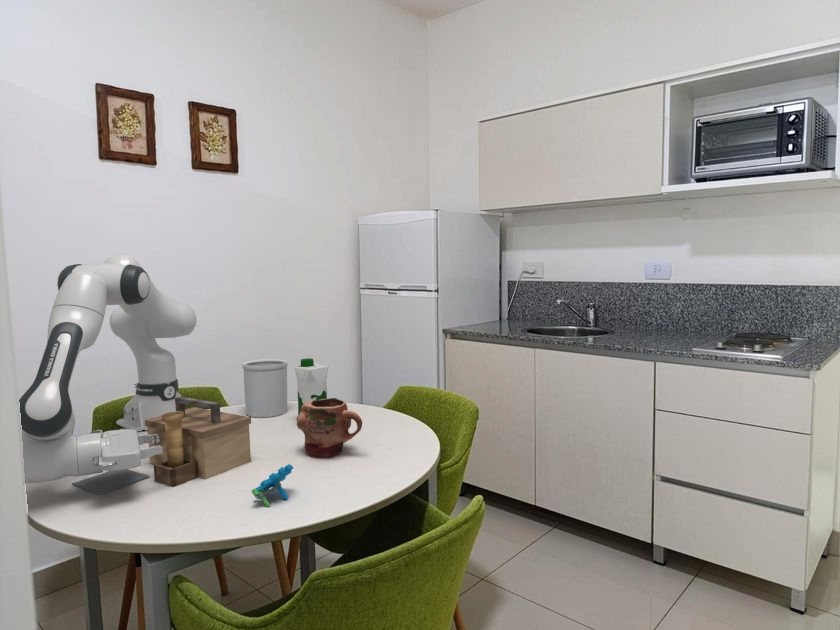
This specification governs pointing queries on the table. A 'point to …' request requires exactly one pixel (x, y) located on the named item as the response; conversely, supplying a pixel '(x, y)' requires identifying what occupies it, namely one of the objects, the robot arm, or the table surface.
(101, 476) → the mat
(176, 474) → the toolbox
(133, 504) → the table surface
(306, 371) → the milk carton
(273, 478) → the gear
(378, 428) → the table surface
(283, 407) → the utensil holder
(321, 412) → the pink ceramic mug
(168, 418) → the tan cylinder
